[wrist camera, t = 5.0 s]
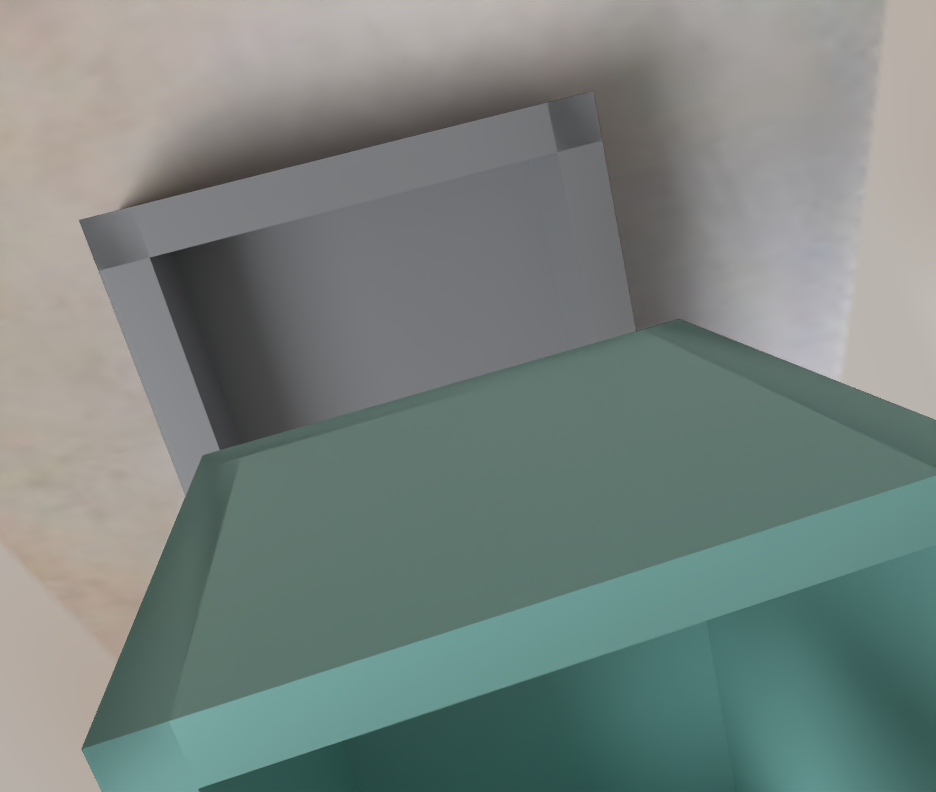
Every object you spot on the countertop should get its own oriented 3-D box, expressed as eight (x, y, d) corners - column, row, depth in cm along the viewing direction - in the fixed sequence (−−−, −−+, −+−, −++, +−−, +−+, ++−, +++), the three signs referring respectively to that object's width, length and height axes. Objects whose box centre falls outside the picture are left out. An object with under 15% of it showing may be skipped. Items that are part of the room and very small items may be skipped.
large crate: (115, 213, 22) (79, 220, 18) (553, 103, 23) (593, 90, 20) (274, 640, 26) (268, 709, 22) (635, 526, 27) (680, 576, 24)
